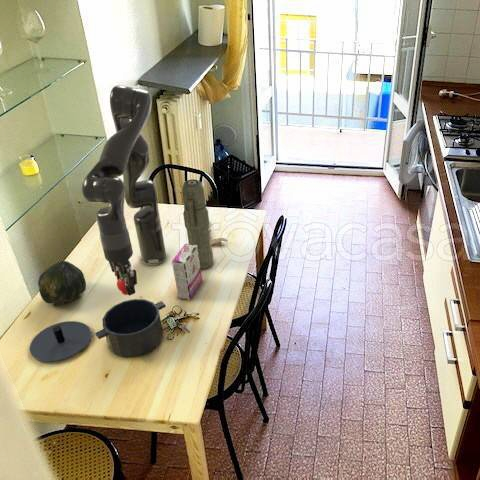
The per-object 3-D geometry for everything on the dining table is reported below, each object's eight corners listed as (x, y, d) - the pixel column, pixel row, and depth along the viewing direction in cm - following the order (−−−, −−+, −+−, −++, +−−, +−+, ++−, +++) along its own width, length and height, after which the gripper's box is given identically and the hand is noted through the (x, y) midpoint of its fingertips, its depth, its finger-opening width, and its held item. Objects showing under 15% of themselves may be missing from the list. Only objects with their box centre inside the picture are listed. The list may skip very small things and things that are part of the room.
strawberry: (115, 291, 153) (111, 275, 149) (131, 284, 156) (128, 268, 152) (123, 299, 150) (119, 283, 146) (139, 292, 153) (136, 276, 149)
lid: (22, 341, 161) (16, 327, 157) (78, 316, 171) (73, 302, 168) (43, 373, 150) (37, 358, 147) (101, 344, 161) (97, 329, 157)
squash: (22, 292, 172) (40, 269, 165) (51, 268, 185) (69, 246, 177) (56, 319, 175) (75, 298, 168) (83, 294, 188) (101, 273, 180)
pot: (91, 341, 161) (84, 319, 156) (154, 310, 174) (150, 288, 169) (115, 371, 152) (108, 348, 146) (180, 336, 164) (176, 313, 159)
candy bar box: (190, 279, 189) (185, 242, 180) (202, 281, 188) (198, 244, 179) (177, 298, 180) (171, 260, 171) (190, 300, 179) (185, 262, 170)
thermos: (188, 273, 192) (176, 190, 173) (191, 255, 202) (181, 175, 183) (212, 272, 193) (203, 189, 174) (214, 254, 203) (206, 174, 184)
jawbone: (208, 252, 205) (207, 247, 204) (189, 229, 220) (188, 225, 219) (228, 244, 209) (227, 239, 208) (208, 222, 224) (208, 218, 222)
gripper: (141, 247, 141) (150, 295, 150) (117, 227, 149) (127, 274, 159) (115, 258, 137) (126, 306, 146) (92, 236, 145) (104, 284, 154)
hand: (127, 289), depth 152 cm, fingers closed on strawberry, 5 cm apart
